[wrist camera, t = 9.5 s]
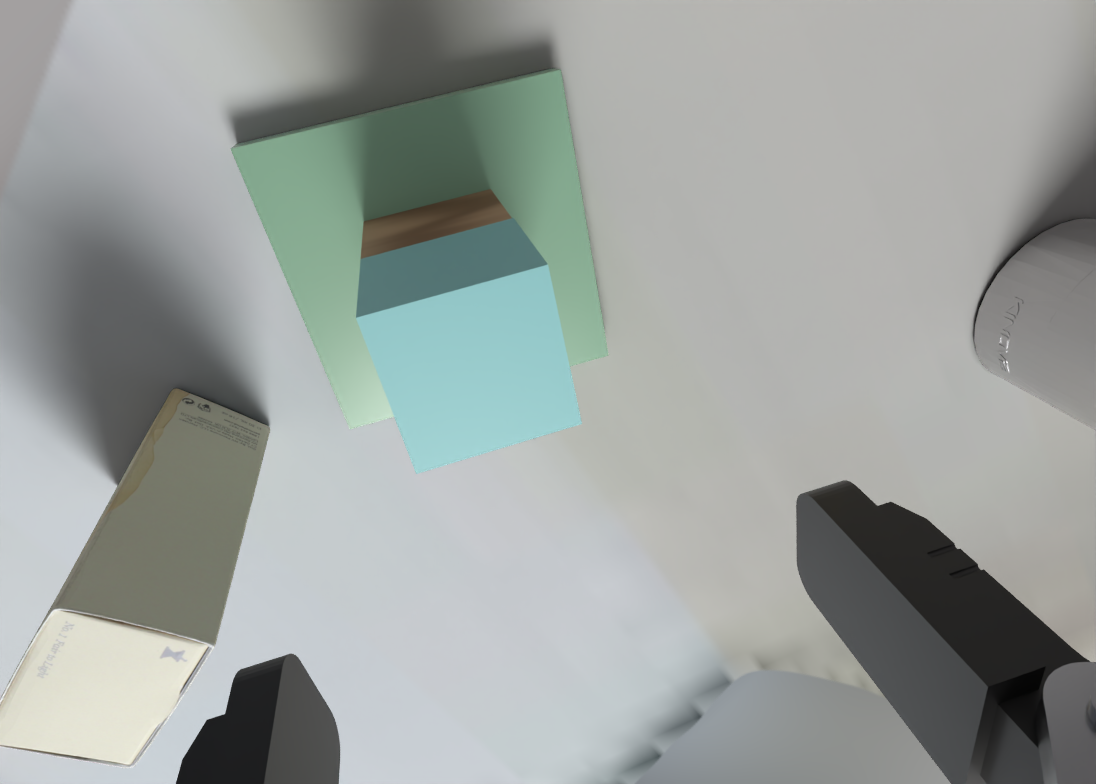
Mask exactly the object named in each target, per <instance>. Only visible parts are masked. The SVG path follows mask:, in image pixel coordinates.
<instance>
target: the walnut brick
mask: <svg viewBox="0 0 1096 784" xmlns="http://www.w3.org/2000/svg"><path fill="white" fill-rule="evenodd" d="M507 219H511V216H510V215H509V213H508V212H507V211H506V209H505V208H504V207H503V205H502V204H501V202H500V201H499V200H498V198H497V197H496V196H495V194H494V193H493V191H492V190H491V189H489V190H485V191H481V192H477V193H473V194H469V195H465V196H461V197H457V198H453V199H450V200H446V201H442V202H438V203H434V204H430V205H426V206H422V207H418V208H414V209H411V210H407V211H403V212H399V213H395V214H391V215H387V216H383V217H379V218H375V219H371V220H368V221H364V222H363V234H362V246H361V259H362V258H366V257H370V256H374V255H377V254H381V253H385V252H388V251H392V250H396V249H400V248H403V247H407V246H411V245H414V244H418V243H422V242H426V241H429V240H433V239H437V238H440V237H444V236H448V235H452V234H455V233H459V232H463V231H466V230H470V229H474V228H478V227H481V226H485V225H489V224H493V223H496V222H500V221H504V220H507ZM361 259H360V260H361Z"/></svg>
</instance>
